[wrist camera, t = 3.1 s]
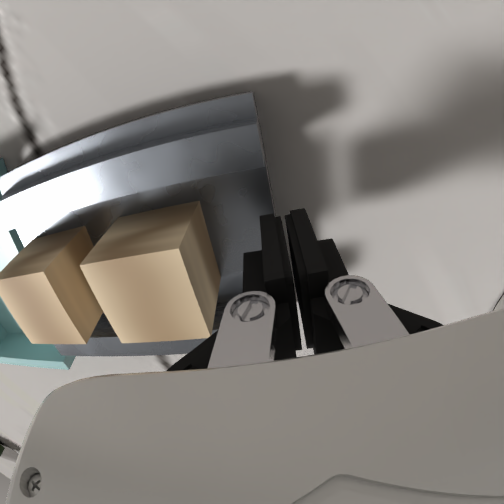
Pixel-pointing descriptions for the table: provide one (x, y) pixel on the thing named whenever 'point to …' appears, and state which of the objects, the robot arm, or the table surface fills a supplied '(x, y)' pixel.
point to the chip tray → (7, 329)
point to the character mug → (1, 449)
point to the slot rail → (152, 193)
